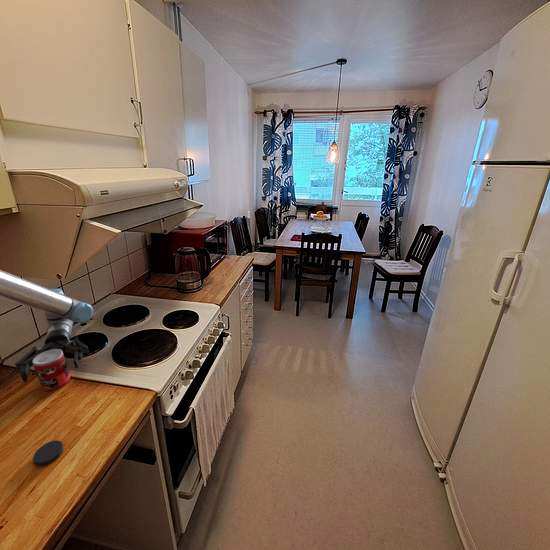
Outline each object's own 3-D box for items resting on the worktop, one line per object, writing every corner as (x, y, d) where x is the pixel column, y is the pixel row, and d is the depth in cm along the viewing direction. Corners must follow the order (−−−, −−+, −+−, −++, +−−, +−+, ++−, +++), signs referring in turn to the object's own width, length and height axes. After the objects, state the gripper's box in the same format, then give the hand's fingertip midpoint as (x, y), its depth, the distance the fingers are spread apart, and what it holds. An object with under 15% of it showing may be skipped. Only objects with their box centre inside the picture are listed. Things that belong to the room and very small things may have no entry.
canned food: (36, 389, 93) (25, 362, 89) (58, 372, 101) (49, 347, 97) (55, 393, 92) (45, 366, 88) (76, 376, 99) (68, 350, 95)
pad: (28, 465, 70) (26, 462, 70) (46, 443, 76) (45, 440, 76) (52, 466, 70) (51, 463, 70) (69, 443, 76) (67, 440, 76)
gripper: (98, 337, 116) (97, 368, 99) (19, 355, 105) (4, 394, 88) (94, 321, 113) (93, 350, 96) (13, 338, 102) (-5, 375, 85)
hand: (50, 371), depth 92 cm, fingers open, 13 cm apart
